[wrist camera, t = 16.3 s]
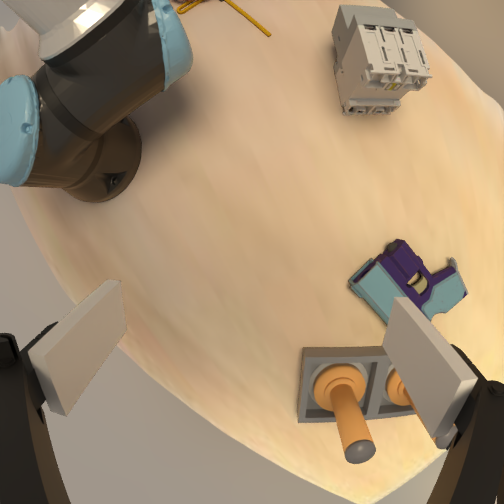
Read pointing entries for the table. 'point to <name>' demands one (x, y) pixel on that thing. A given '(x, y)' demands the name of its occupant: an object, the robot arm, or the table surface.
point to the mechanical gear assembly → (229, 4)
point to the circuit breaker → (376, 59)
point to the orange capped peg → (402, 398)
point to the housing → (372, 369)
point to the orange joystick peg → (346, 408)
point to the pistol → (397, 276)
